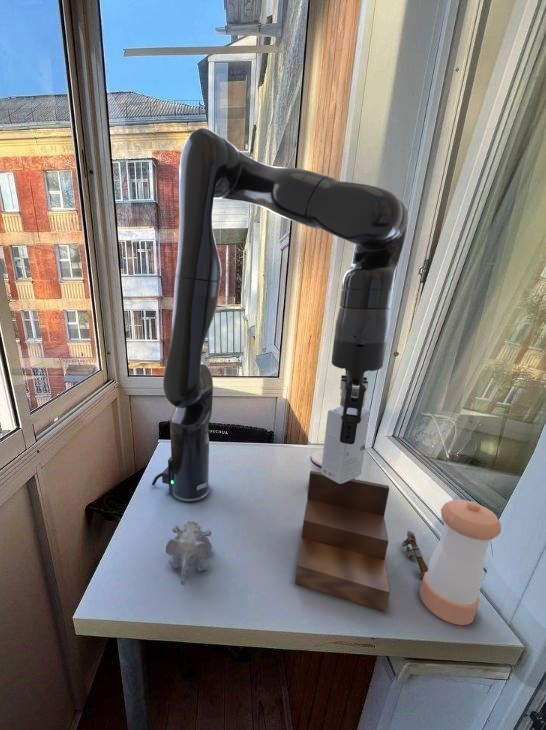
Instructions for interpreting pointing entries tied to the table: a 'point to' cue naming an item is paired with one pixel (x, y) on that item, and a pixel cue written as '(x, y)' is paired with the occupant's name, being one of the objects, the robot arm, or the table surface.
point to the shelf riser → (345, 541)
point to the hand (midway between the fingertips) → (346, 433)
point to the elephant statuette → (189, 548)
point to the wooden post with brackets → (415, 552)
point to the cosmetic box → (343, 447)
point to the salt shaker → (459, 561)
